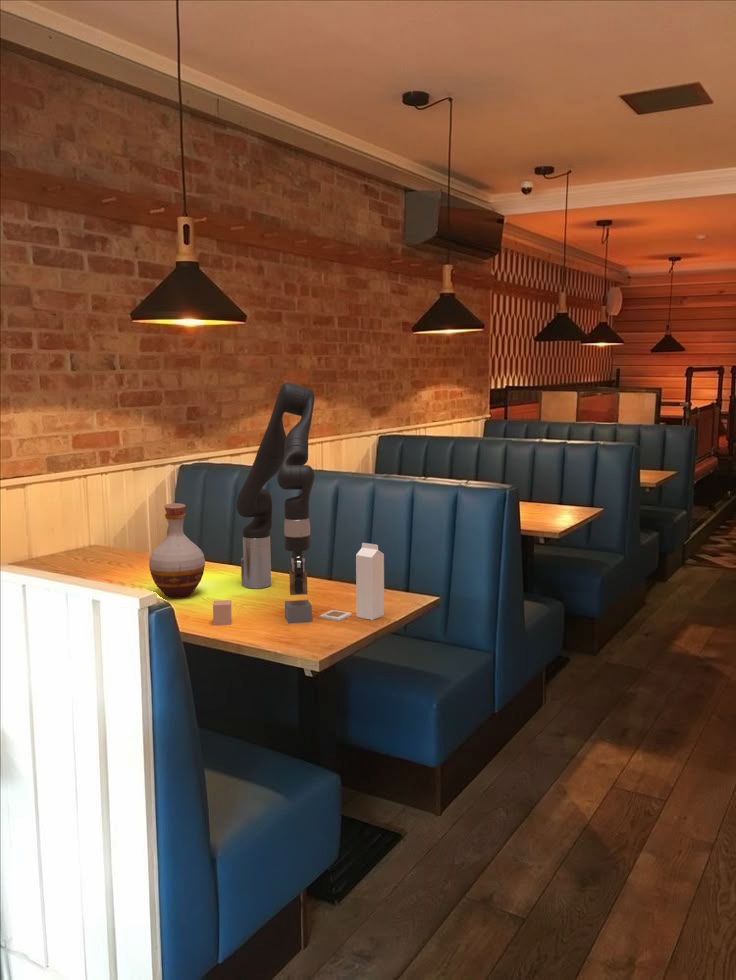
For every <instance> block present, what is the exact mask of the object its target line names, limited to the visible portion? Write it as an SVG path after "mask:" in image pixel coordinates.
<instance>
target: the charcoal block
mask: <svg viewBox="0 0 736 980" xmlns="http://www.w3.org/2000/svg"><path fill="white" fill-rule="evenodd" d="M284 618H285V620H286V622H287V624H288V625H289V624H290V625H291V624H303V623H312V622H313V606H312V604H311V602H310V601H309V599H300V600H299V599H298V600H295V599H294V600H285V601H284Z"/></svg>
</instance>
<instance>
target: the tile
mask: <svg viewBox="0 0 736 980" xmlns="http://www.w3.org/2000/svg"><path fill="white" fill-rule="evenodd" d="M352 615H353V612H348V611H342V610H335V609H331V610H329V611H326V612H325V613H322V614H320V615H319V618H320V619H327V620H332V621H337V622H338V621H343V620H345V619H347V618H348V617H351V616H352Z"/></svg>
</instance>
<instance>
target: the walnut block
mask: <svg viewBox="0 0 736 980" xmlns="http://www.w3.org/2000/svg"><path fill="white" fill-rule="evenodd" d="M288 572H289V595H290V596H300V595H301V596H302V595H308V592H309V591H308V573H307V572H308V571H307V570H305V569H304V572H303V577H304V578H303V580H302V581H303V592H302V593H295V580H294V573H293V572H292V570H289V571H288ZM296 576H301V573H296Z"/></svg>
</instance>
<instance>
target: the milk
mask: <svg viewBox="0 0 736 980" xmlns="http://www.w3.org/2000/svg"><path fill="white" fill-rule="evenodd" d="M355 580H356V582H355V583H356V584H355V590H356V592H355V593H356V594H355V595H356V597H355V600H356V603H355V604H356V607H355V608H356V617H357V618H361V619H366V620H369V619H370V621H374V620H376V619H379V618H382V617H384V616H385V553H383V552H382V551H380V550H379V544H374V543H368V542H362V543H361V548H360V549H359V550H358V551H357V553H356V555H355Z"/></svg>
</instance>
